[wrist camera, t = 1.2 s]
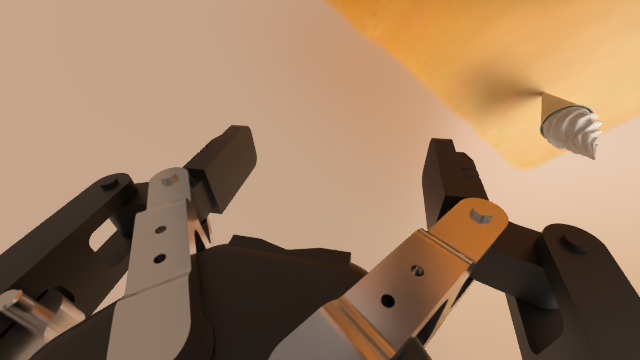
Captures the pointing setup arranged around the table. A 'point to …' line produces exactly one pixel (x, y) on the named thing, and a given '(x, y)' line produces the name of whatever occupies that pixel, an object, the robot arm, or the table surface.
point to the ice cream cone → (569, 125)
